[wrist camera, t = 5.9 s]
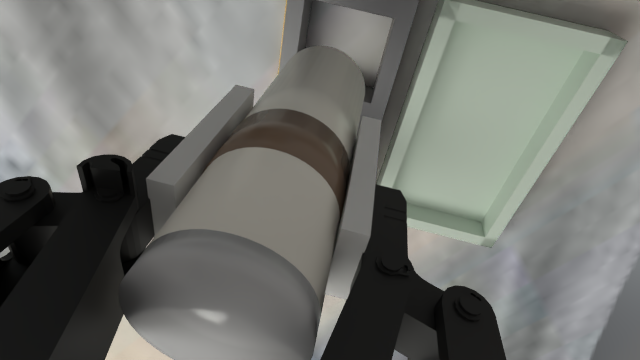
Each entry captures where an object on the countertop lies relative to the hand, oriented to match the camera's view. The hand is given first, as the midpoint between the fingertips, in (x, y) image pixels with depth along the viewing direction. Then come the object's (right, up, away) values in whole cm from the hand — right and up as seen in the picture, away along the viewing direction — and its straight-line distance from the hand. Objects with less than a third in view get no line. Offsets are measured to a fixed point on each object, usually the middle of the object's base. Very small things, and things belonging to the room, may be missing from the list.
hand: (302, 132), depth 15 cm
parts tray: (+12, +2, +14) cm, 19 cm away
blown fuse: (+1, +3, +4) cm, 5 cm away
